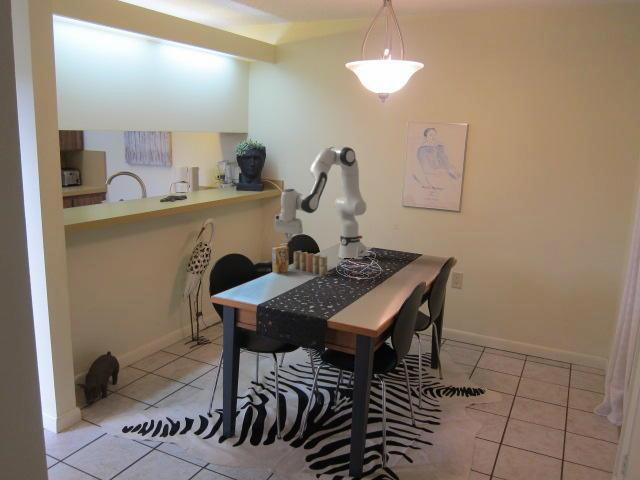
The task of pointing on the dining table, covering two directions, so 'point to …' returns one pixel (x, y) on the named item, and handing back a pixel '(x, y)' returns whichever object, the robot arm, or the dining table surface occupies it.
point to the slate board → (308, 272)
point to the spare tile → (309, 262)
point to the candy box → (280, 259)
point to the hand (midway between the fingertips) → (288, 240)
